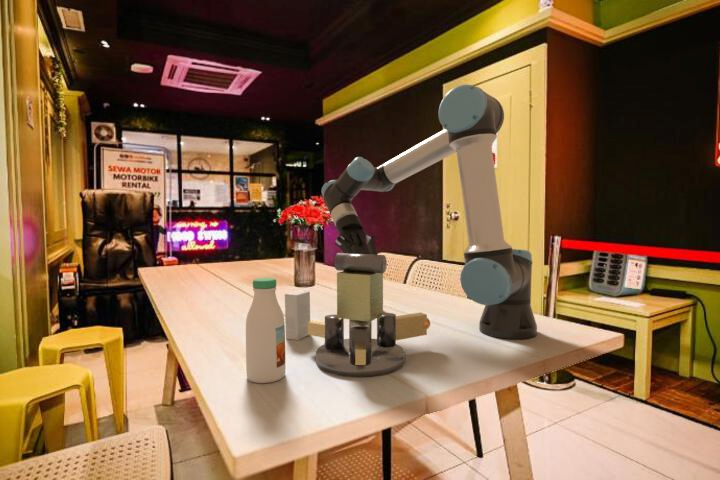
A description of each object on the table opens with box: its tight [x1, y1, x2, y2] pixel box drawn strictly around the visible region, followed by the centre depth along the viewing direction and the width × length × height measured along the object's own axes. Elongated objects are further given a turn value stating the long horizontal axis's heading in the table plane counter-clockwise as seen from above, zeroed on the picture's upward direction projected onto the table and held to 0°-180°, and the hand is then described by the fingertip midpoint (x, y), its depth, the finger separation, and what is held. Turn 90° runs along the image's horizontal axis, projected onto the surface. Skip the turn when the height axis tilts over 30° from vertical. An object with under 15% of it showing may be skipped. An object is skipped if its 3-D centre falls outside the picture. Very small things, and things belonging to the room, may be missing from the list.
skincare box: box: [284, 289, 311, 341], centre depth 113 cm, size 6×4×12 cm
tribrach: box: [308, 252, 406, 378], centre depth 94 cm, size 24×23×24 cm
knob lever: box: [376, 312, 431, 348], centre depth 101 cm, size 15×4×7 cm, turn 120°
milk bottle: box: [245, 277, 286, 384], centre depth 85 cm, size 8×8×20 cm
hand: (375, 284), depth 116 cm, fingers closed
